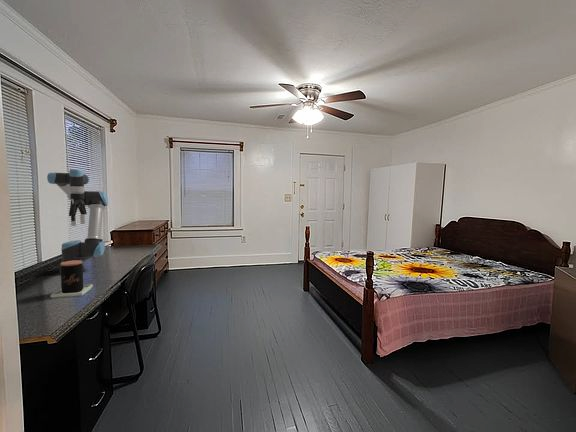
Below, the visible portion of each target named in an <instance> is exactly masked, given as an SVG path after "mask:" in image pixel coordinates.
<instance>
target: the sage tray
mask: <svg viewBox="0 0 576 432" xmlns="http://www.w3.org/2000/svg"><path fill="white" fill-rule="evenodd" d="M93 285H94V284H83V286H84V288H83V290H82V291H80V292H78V293H62V291H61V288H59V289H56V291H54V292H53V293H51V294H50V299H52V298H54V299H55V298H69V297H82V296H83V295H85V294H86V293H88V292H89V291H90V290H91V289H93V287H94V286H93Z"/></svg>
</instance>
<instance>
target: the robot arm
mask: <svg viewBox="0 0 576 432" xmlns="http://www.w3.org/2000/svg"><path fill="white" fill-rule="evenodd" d="M46 179H47V182H48V183H49V184H51V185H56V186H58V188H59V189H60V190H62V191H63V193H64V194H66V197H67V198H68V199H69V200H70V206H69V212H68V217H70V227H77V226H78V225H77V222H78V221H77V216H76V215H77V212H79V213H80V215H79V219H80V220H79V221H80V225H86V215H87V214H88V213H87V209H86V206H87V208H88V209H89V216H88V217H89V218H88V226H87V227H88V228H87V237H86V238H85V239H84V241H83V242H82V240H78V239H76V240H71V241H65V242H63V243H62V244H61V261H62V262H66V261H72V260H81V261H82V265H83V272H84V271H85V269H86V267H85V265H84V263H83V260H82V258H97V257H99V258H100V257H101V256H103V254H104V252H105V249H106V242H105V241H104V240H103V238H102V237H101V236H102V226H103V225H102V223H103V212H104V210H105V209H106V207H107V206H108V205H109V200H108V195H107V193H106V192H105V191H99V190H97V191H91V190H87V191H85V185H87V184H89V183H90V177H89V175H87V174H86V173H84V170H83V169H75V168H73V169H69V172H56V171H55V172H49V173H48V174H47V177H46ZM62 262H61V263H62ZM59 274H60V275H61V270H60V269H59Z"/></svg>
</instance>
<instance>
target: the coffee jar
mask: <svg viewBox="0 0 576 432" xmlns="http://www.w3.org/2000/svg"><path fill="white" fill-rule="evenodd" d="M81 260H82V259H81ZM81 260H72V261H66V262H60V268H59V271H60V270H61V274H60V287H61V291H62V293H78V292H80V291H82V290H83V288H84V286H83V285H84V271H83V265H84V264H83V265H82V263H83V260H82V261H81Z"/></svg>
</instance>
